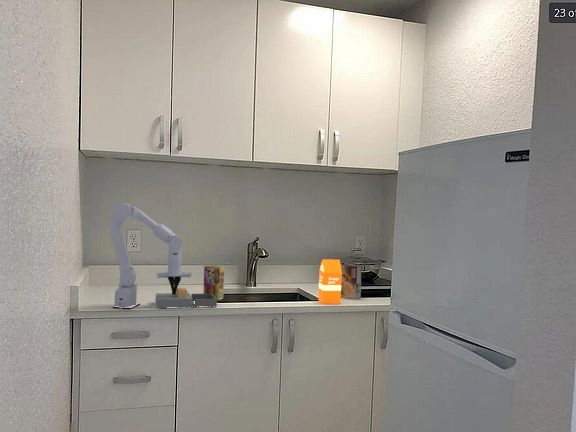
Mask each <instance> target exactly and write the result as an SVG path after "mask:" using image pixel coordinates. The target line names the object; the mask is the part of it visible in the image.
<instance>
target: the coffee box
mask: <svg viewBox="0 0 576 432" xmlns="http://www.w3.org/2000/svg"><path fill="white" fill-rule="evenodd" d="M340 266H341V272H342V277H341V298H343V299H345V298H346V299H352V300H357V299H361V298H362V295H361V293H362V265H358V264H349V263H343V264H340Z"/></svg>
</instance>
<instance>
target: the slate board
mask: <svg viewBox="0 0 576 432" xmlns="http://www.w3.org/2000/svg"><path fill="white" fill-rule="evenodd" d="M156 305H157V306H156ZM155 306H156V309H157V308H167V307H192V297H191V294H190V292H187V297H177V295H176V294H175V295H172V292H165V293H164V292H162V293H161V292H160V293H155ZM192 308H193V307H192Z"/></svg>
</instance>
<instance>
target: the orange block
mask: <svg viewBox="0 0 576 432" xmlns="http://www.w3.org/2000/svg"><path fill="white" fill-rule="evenodd" d="M187 293H188V288H186V287H177V290H176V295H177V297H187Z"/></svg>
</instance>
